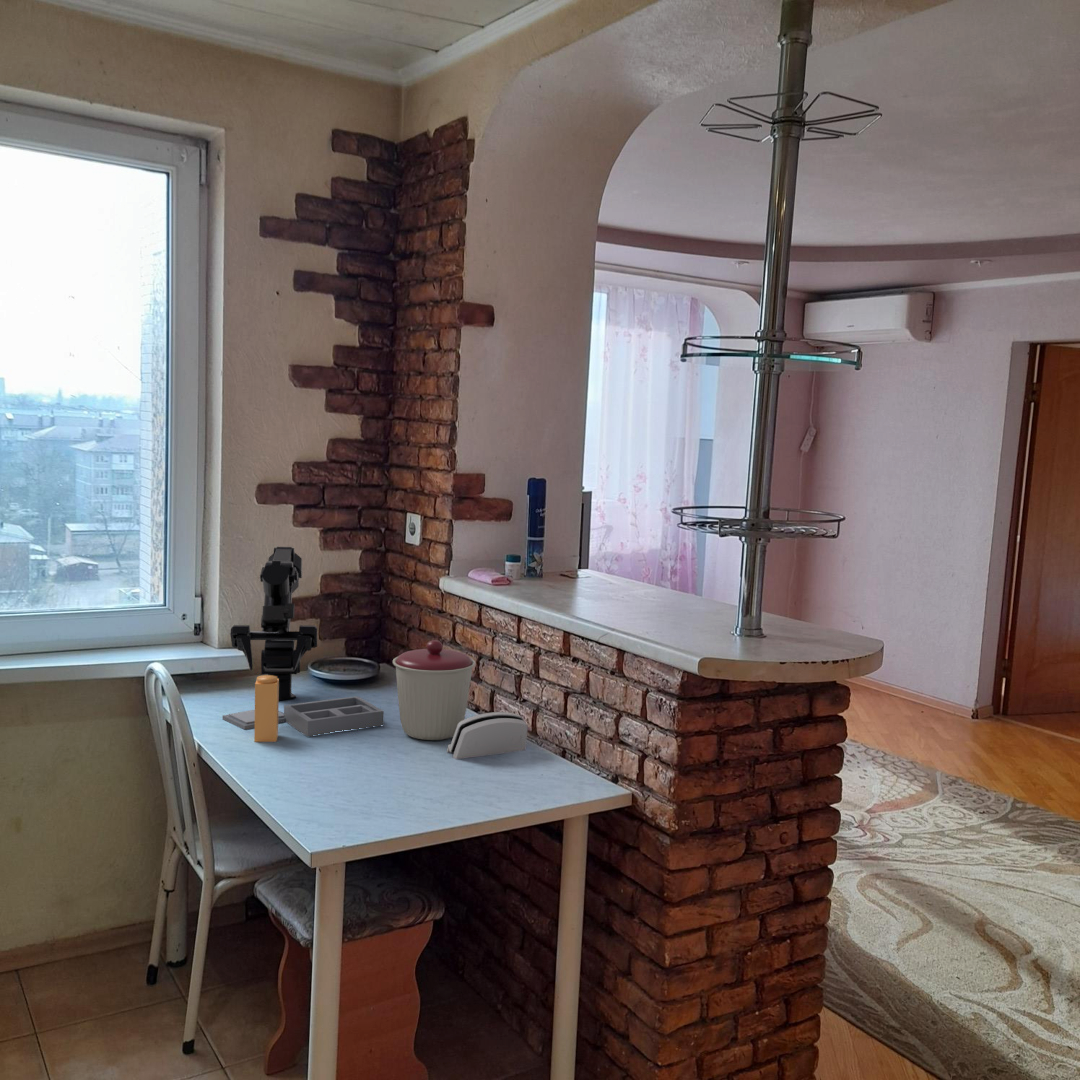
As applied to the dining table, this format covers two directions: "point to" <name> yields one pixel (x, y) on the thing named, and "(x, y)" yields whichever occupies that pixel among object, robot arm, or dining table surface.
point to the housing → (333, 715)
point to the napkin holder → (489, 735)
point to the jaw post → (266, 708)
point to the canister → (432, 690)
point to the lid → (247, 719)
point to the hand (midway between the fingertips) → (272, 669)
